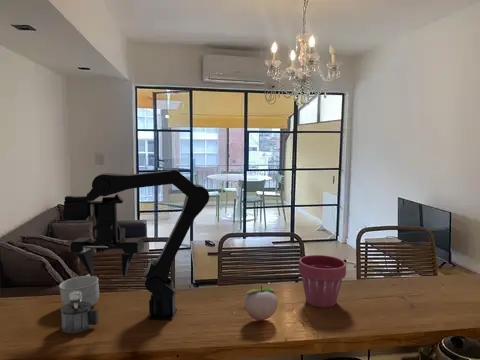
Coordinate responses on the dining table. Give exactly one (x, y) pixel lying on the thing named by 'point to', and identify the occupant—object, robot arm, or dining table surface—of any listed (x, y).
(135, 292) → the dining table surface
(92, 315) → the octagonal grey mug
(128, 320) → the dining table surface
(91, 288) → the teacup
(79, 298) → the plunger
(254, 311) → the decorative fruit
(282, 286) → the dining table surface
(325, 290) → the plant pot
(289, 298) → the dining table surface
